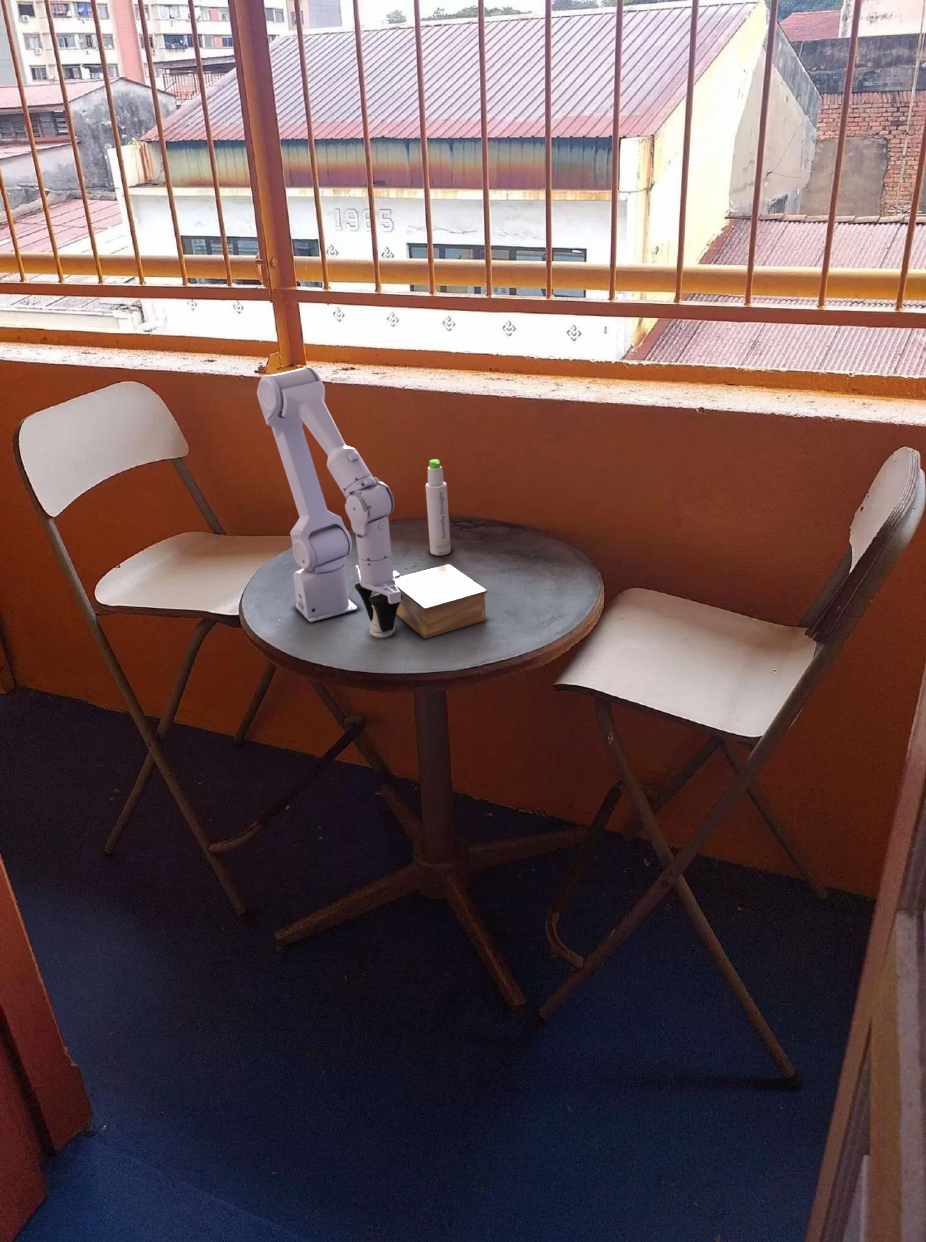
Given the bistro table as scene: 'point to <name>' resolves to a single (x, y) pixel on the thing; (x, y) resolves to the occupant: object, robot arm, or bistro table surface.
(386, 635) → the rook chess piece
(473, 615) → the keepsake box
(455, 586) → the lid
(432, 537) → the bottle
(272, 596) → the bistro table surface
